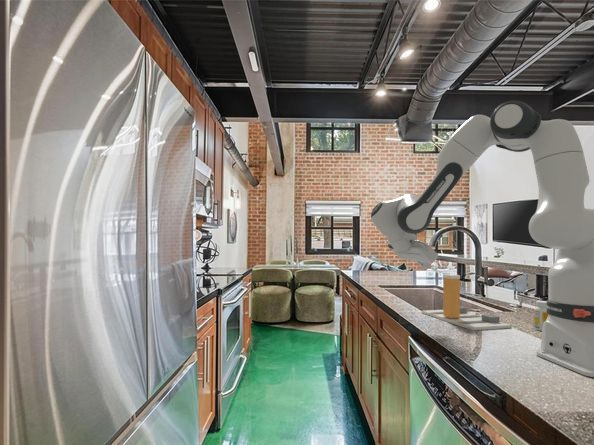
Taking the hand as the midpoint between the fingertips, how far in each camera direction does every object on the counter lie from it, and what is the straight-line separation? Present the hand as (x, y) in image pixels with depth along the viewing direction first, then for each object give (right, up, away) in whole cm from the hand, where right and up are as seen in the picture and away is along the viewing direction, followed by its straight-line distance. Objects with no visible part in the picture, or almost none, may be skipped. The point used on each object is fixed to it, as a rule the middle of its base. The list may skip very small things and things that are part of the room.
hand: (426, 267), depth 131 cm
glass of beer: (+10, -19, +2) cm, 21 cm away
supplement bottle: (+36, -20, -11) cm, 42 cm away
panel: (+15, -20, +3) cm, 25 cm away
